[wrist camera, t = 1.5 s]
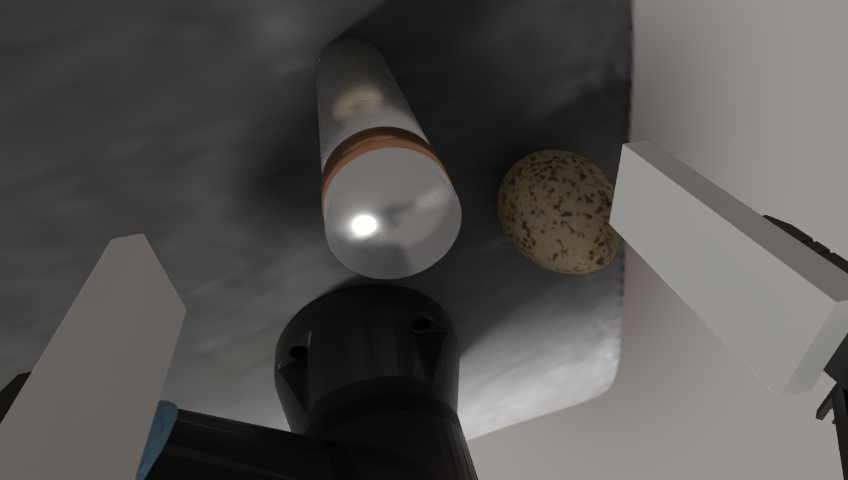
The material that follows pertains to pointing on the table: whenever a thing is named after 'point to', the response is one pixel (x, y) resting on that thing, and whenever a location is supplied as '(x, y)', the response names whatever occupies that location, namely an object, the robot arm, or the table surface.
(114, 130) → the table surface
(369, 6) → the table surface
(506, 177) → the decorative egg
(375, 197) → the tube
